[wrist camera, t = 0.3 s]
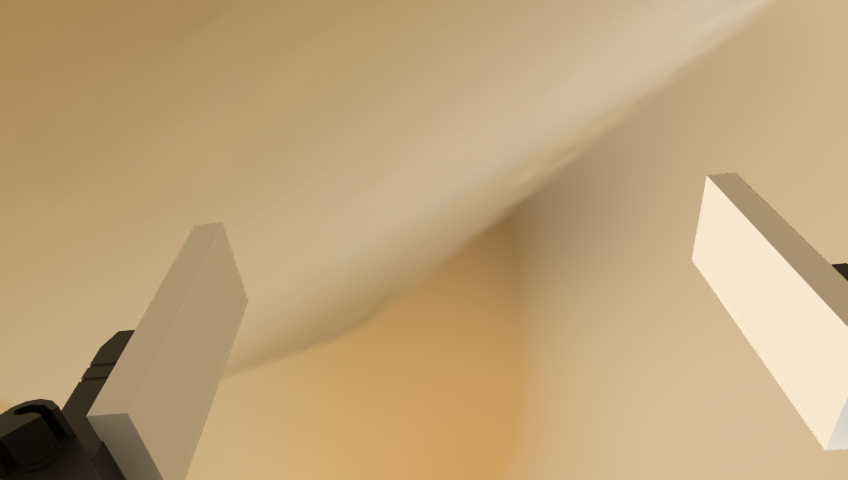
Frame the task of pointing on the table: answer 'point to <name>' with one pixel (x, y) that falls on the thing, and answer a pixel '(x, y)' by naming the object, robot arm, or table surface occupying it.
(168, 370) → the robot arm
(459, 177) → the table surface
